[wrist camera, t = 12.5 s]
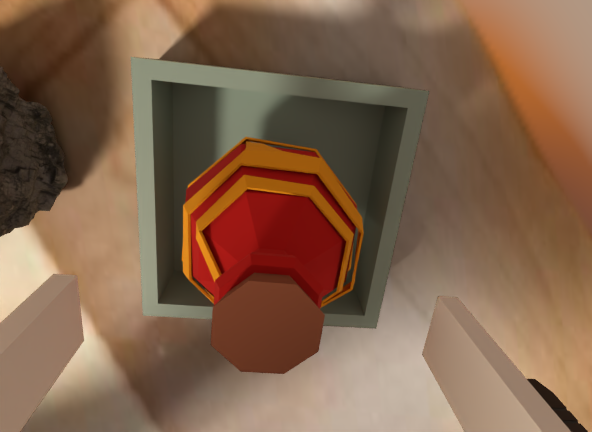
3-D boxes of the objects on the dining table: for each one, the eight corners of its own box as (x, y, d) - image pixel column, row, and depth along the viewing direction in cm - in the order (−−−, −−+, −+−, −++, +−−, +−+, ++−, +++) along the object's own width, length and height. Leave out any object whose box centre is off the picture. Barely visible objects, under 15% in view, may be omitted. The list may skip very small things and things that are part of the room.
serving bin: (163, 276, 30) (142, 315, 25) (158, 59, 24) (130, 57, 19) (360, 289, 31) (376, 328, 26) (401, 87, 25) (429, 91, 21)
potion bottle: (175, 222, 27) (74, 382, 14) (239, 92, 24) (192, 127, 10) (299, 279, 30) (322, 466, 16) (371, 168, 27) (478, 278, 13)
